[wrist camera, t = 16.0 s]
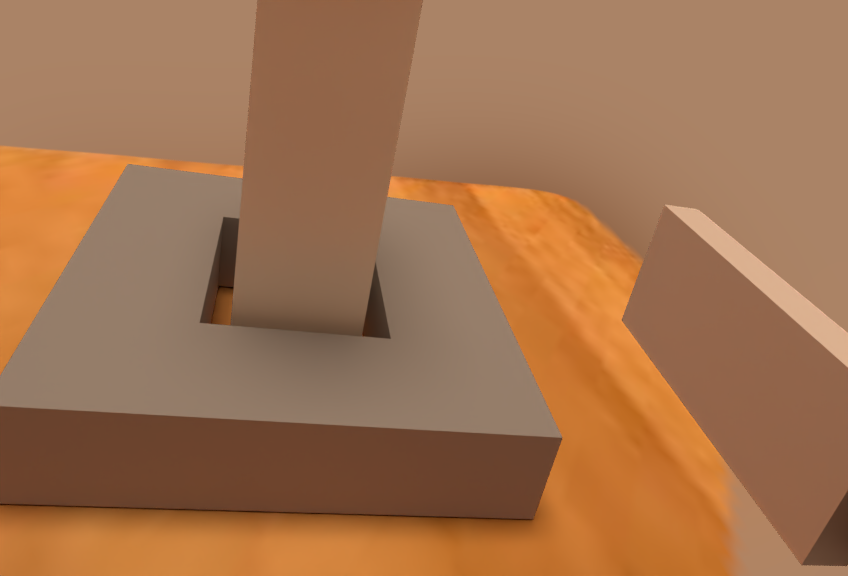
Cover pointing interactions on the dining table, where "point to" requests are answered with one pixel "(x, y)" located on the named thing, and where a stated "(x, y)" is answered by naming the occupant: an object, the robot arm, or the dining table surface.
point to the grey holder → (268, 376)
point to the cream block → (319, 159)
